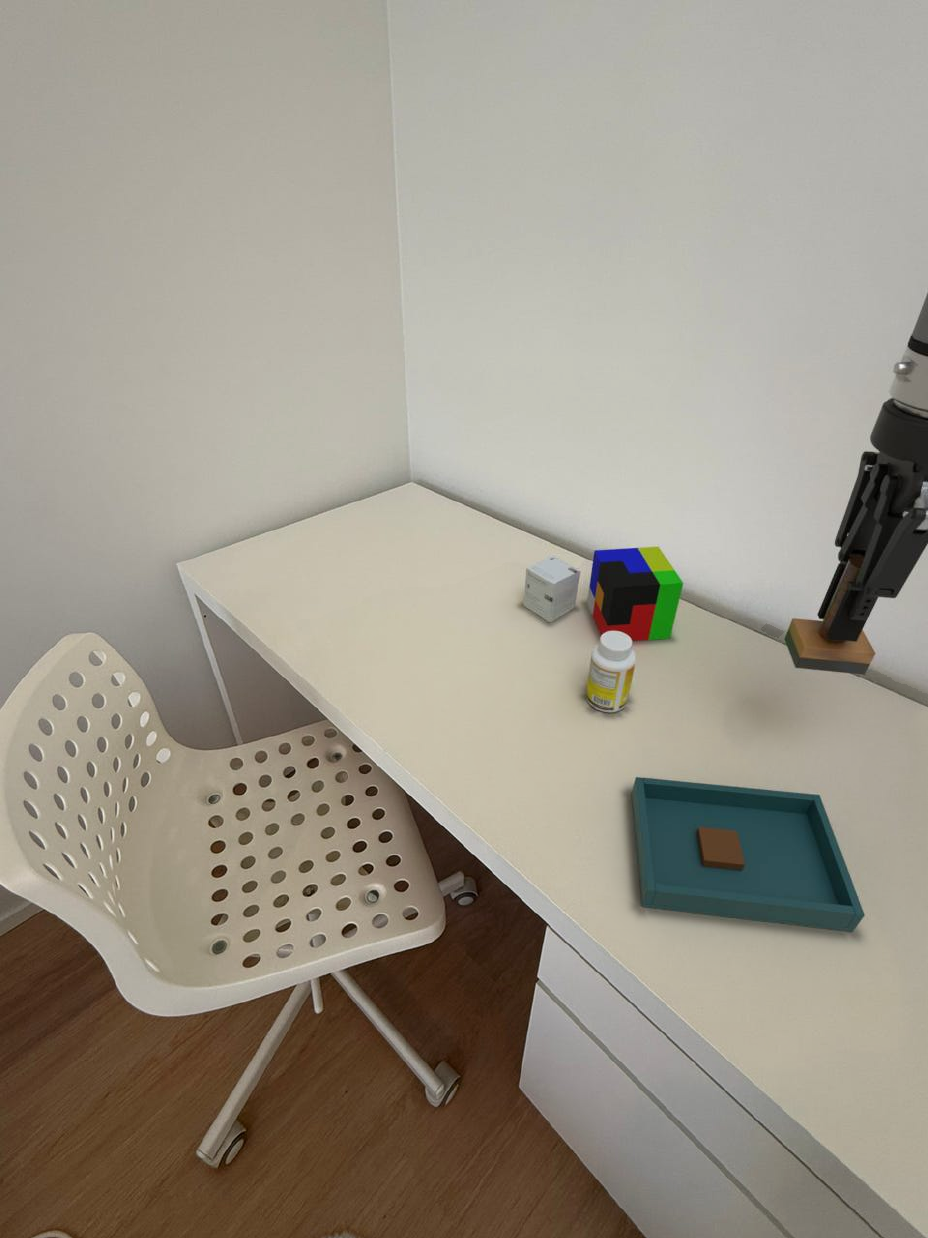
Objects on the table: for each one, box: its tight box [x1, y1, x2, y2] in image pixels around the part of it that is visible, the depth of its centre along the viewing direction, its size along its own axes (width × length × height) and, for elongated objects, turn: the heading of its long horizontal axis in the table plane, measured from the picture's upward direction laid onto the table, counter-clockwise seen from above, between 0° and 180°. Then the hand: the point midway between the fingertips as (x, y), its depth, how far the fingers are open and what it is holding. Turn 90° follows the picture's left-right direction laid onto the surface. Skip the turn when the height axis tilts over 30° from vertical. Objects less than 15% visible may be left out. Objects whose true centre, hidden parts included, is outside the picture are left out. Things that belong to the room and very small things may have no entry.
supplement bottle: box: [585, 631, 637, 713], centre depth 83 cm, size 6×6×10 cm
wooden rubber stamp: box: [783, 556, 876, 676], centre depth 67 cm, size 7×5×12 cm
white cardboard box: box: [522, 555, 581, 623], centre depth 101 cm, size 6×6×7 cm
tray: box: [631, 776, 866, 933], centre depth 67 cm, size 20×14×3 cm
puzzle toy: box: [586, 546, 684, 642], centre depth 97 cm, size 10×10×10 cm
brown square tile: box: [696, 827, 745, 871], centre depth 67 cm, size 4×4×1 cm
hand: (836, 627), depth 68 cm, fingers closed on wooden rubber stamp, 3 cm apart
